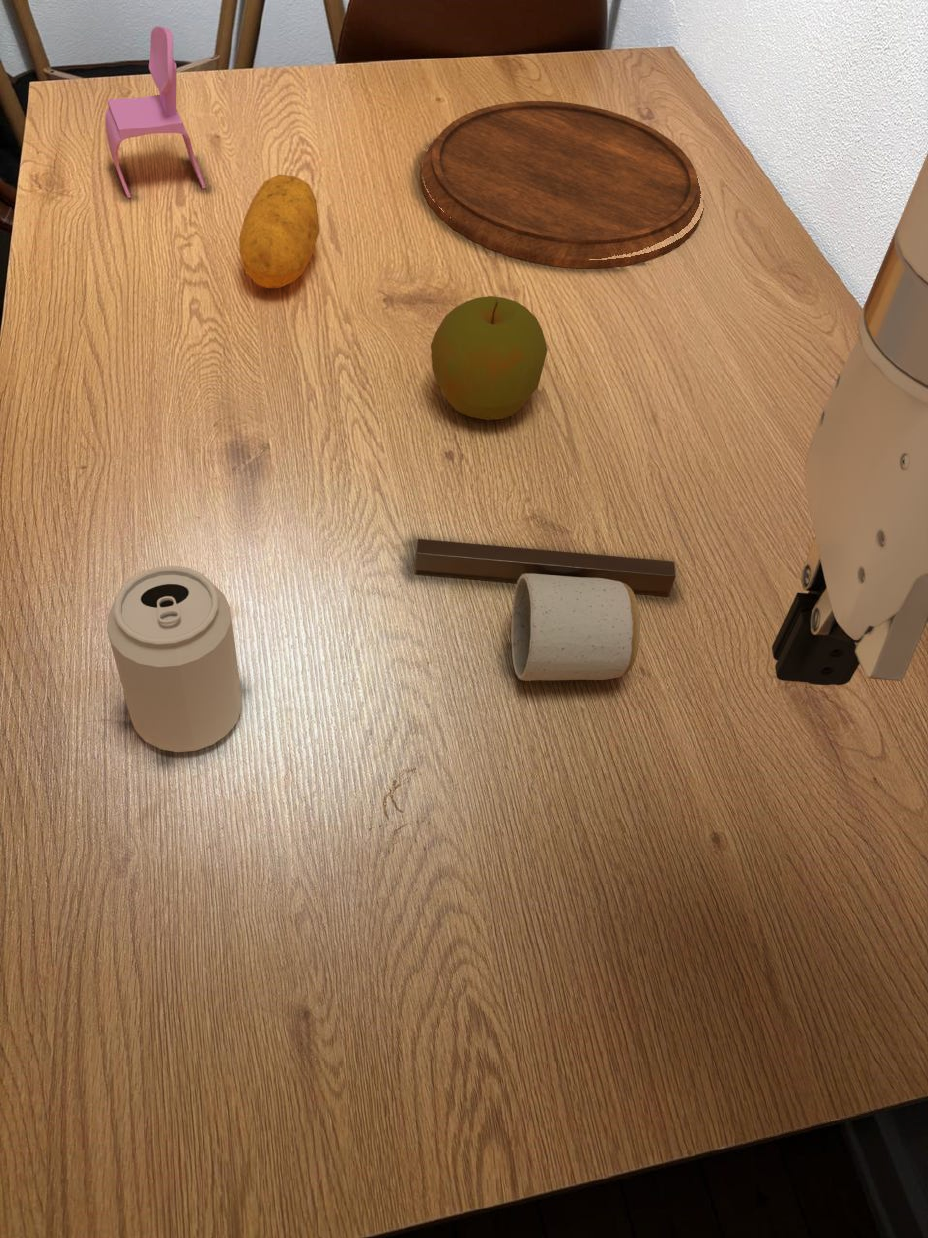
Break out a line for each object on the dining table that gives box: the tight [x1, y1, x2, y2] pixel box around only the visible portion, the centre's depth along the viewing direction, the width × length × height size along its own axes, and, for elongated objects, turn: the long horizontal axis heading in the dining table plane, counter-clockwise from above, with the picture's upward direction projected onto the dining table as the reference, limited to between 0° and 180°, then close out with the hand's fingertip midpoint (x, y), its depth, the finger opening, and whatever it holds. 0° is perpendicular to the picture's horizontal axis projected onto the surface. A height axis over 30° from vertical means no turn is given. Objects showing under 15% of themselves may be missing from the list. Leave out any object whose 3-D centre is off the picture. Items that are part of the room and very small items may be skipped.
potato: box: [238, 174, 320, 289], centre depth 108 cm, size 7×14×7 cm, turn 174°
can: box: [106, 565, 243, 753], centre depth 72 cm, size 8×8×12 cm
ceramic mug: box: [510, 574, 641, 682], centre depth 80 cm, size 11×8×8 cm
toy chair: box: [105, 26, 207, 199], centre depth 114 cm, size 8×9×15 cm
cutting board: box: [419, 100, 705, 269], centre depth 124 cm, size 32×32×3 cm
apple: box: [430, 295, 548, 421], centre depth 96 cm, size 10×10×11 cm
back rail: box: [414, 538, 677, 597], centre depth 87 cm, size 3×20×2 cm, turn 87°
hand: (808, 667), depth 49 cm, fingers closed
